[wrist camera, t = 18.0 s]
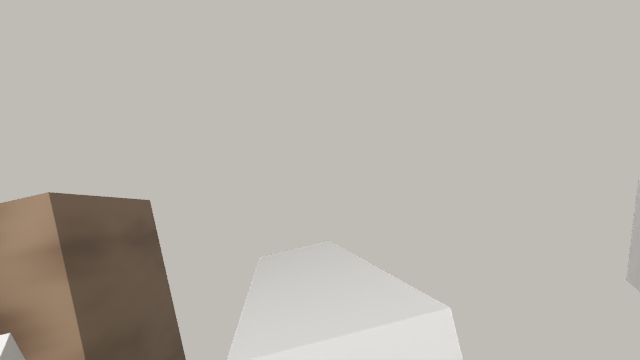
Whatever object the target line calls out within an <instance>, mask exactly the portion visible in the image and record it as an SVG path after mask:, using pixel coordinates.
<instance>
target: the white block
mask: <svg viewBox="0 0 640 360" xmlns="http://www.w3.org/2000/svg"><path fill="white" fill-rule="evenodd" d="M227 360H463V358H462V353H461V349H460V345H459V341H458V337H457V333H456V328H455V325H454V320H453V316H452V312H451V308H450V307H448V306H446V305H444V304H443V303H441V302H439V301H437V300H435V299H433V298H432V297H430V296H428V295H427V294H425V293H423V292H421V291H419V290H418V289H416V288H414V287H412V286H410V285H408V284H407V283H405V282H403V281H401V280H399V279H398V278H396V277H394V276H392V275H390V274H389V273H387V272H385V271H383V270H382V269H380V268H378V267H376V266H374V265H373V264H371V263H369V262H367V261H365V260H364V259H362V258H360V257H358V256H356V255H355V254H353V253H351V252H349V251H347V250H346V249H344V248H342V247H340V246H338V245H336V244H335V243H333V242H331V241H324V242H320V243H316V244H312V245H308V246H304V247H299V248H295V249H291V250H287V251H283V252H279V253H275V254H271V255H266V256H262V257H259V259H258V263H257V266H256V269H255V272H254V275H253V278H252V282H251V285H250V288H249V291H248V295H247V297H246V301H245V304H244V307H243V310H242V313H241V317H240V320H239V323H238V326H237V329H236V332H235V335H234V339H233V342H232V345H231V348H230V351H229V354H228V358H227Z"/></svg>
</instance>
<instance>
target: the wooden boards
mask: <svg viewBox="0 0 640 360" xmlns="http://www.w3.org/2000/svg"><path fill="white" fill-rule="evenodd" d="M7 333H11V335H12V337H13V339H14V340H15V342H16V344H17V346H18V348H19V349H20V351H21V353H22V355H23V357H24V358H25V360H186V359H185V355H184V350H183V346H182V341H181V337H180V333H179V328H178V324H177V319H176V315H175V311H174V306H173V301H172V297H171V293H170V288H169V284H168V280H167V275H166V270H165V266H164V262H163V257H162V253H161V248H160V244H159V239H158V235H157V230H156V226H155V221H154V217H153V213H152V208H151V204H150V200H139V199H127V198H114V197H101V196H88V195H75V194H74V195H73V194H62V193H49V192H48V193H44V194H40V195H35V196H31V197H26V198H22V199H17V200H13V201H9V202H4V203H0V335H3V334H7Z"/></svg>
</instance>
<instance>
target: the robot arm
mask: <svg viewBox="0 0 640 360" xmlns="http://www.w3.org/2000/svg"><path fill="white" fill-rule="evenodd" d="M627 281H628V282H629V283H631V284H632V285H633V286H634V287H635V288H636V289H637V290H638V291H639V292H640V178H639V180H638V189H637V197H636V205H635V213H634V221H633V230H632V238H631V246H630V254H629V263H628V271H627ZM0 360H25V358H24V357H23V355H22V353H21V351H20V349H19V348H18V346H17V344H16V342H15V340H14V339H13V337H12V335H11V333H7V334H3V335H0Z"/></svg>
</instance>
